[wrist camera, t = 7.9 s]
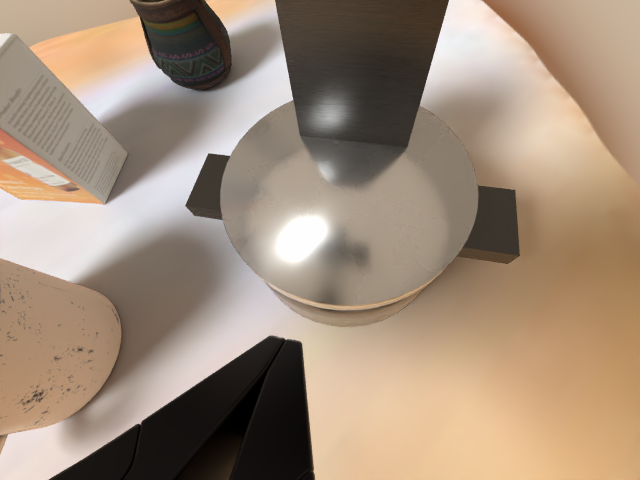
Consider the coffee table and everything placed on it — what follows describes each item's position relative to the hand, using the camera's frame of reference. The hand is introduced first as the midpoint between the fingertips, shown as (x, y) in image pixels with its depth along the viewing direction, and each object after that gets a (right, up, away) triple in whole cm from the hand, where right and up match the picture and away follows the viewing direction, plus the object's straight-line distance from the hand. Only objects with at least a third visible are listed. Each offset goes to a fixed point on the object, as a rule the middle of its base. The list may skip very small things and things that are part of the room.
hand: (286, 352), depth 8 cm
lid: (+2, +6, +9) cm, 11 cm away
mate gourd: (-11, +20, +23) cm, 32 cm away
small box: (-20, +8, +19) cm, 29 cm away
